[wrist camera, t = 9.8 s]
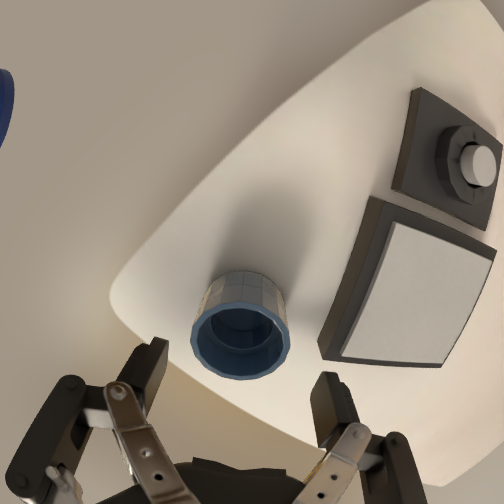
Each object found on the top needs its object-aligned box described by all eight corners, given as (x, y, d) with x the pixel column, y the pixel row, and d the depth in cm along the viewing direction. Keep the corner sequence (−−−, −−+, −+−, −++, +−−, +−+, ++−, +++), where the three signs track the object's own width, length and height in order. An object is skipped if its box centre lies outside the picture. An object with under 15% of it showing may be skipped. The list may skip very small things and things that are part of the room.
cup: (199, 327, 21) (185, 368, 16) (212, 259, 19) (198, 291, 14) (270, 343, 21) (273, 386, 16) (292, 278, 19) (303, 314, 15)
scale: (316, 341, 21) (323, 365, 18) (369, 195, 18) (388, 202, 15) (430, 354, 22) (443, 371, 19) (481, 242, 18) (501, 252, 15)
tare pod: (390, 189, 17) (411, 194, 14) (411, 90, 15) (432, 82, 12) (475, 227, 18) (497, 236, 15) (492, 144, 15) (515, 145, 13)
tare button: (456, 175, 14) (469, 177, 13) (462, 138, 13) (476, 138, 12) (479, 189, 14) (492, 192, 13) (485, 155, 14) (499, 156, 12)
